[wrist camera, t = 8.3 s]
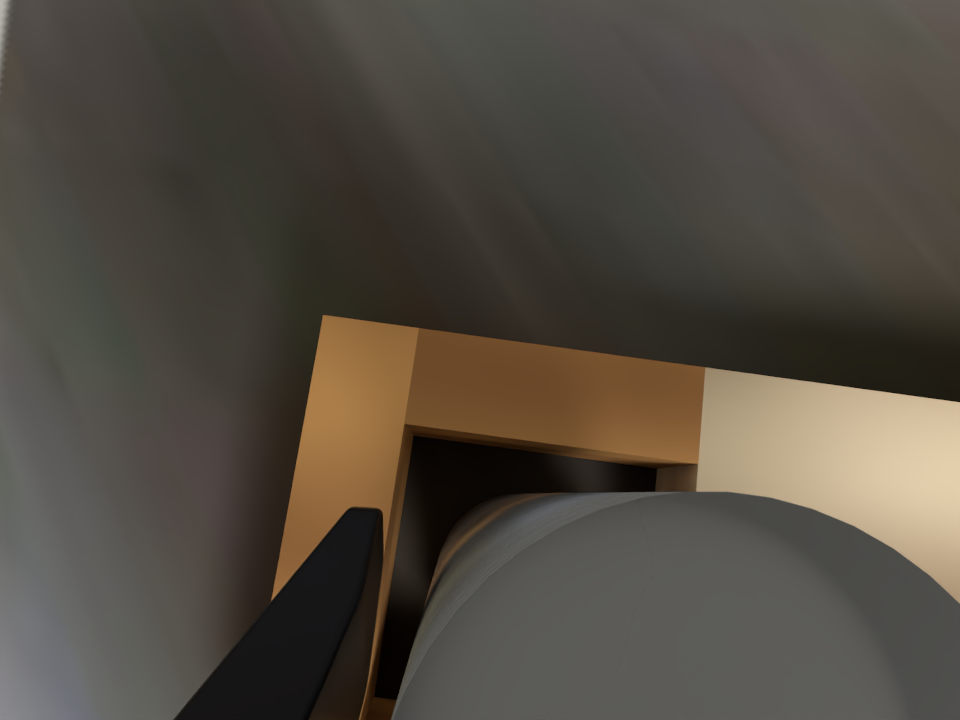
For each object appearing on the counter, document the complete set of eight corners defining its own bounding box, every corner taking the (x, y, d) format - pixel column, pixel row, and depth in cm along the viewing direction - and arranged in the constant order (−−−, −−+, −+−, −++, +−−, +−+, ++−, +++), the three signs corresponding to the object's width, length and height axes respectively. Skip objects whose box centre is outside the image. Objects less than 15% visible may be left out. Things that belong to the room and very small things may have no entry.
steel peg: (628, 634, 16) (1217, 1116, 4) (466, 694, 16) (505, 1461, 3) (570, 470, 17) (899, 403, 4) (413, 524, 17) (275, 623, 4)
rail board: (1377, 929, 16) (1590, 1031, 13) (270, 780, 16) (226, 847, 13) (1335, 480, 18) (1511, 478, 15) (346, 344, 17) (322, 314, 15)
